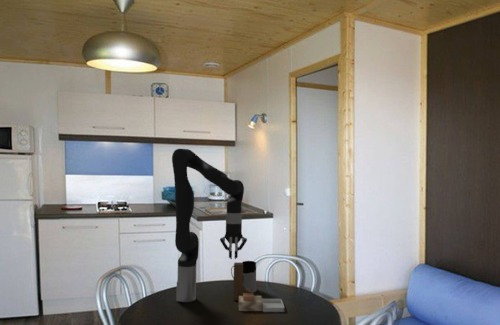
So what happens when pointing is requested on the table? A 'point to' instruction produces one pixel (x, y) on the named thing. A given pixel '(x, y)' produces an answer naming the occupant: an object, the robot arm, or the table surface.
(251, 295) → the tile
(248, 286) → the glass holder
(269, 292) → the table surface
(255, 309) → the beige patterned box
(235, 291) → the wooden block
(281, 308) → the tray
